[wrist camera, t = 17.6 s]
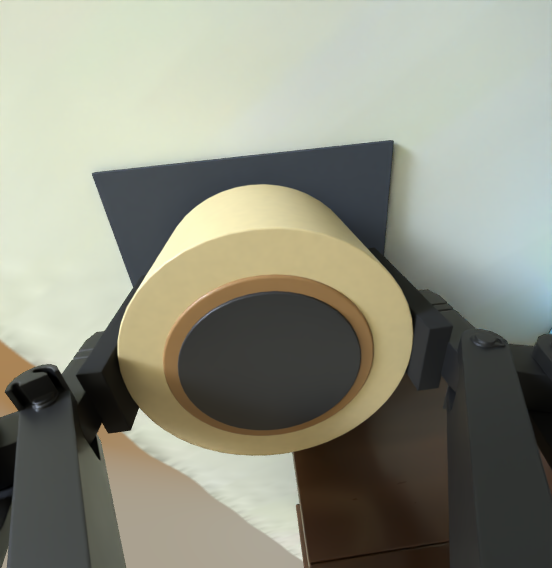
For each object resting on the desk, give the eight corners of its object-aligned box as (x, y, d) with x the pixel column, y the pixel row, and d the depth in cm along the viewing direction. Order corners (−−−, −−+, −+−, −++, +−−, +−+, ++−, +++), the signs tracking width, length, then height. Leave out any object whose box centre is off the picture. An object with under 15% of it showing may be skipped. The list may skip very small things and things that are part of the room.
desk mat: (94, 172, 14) (91, 173, 14) (391, 140, 15) (393, 140, 14) (163, 365, 20) (162, 369, 20) (374, 338, 20) (376, 340, 20)
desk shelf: (278, 356, 20) (341, 790, 7) (467, 331, 21) (852, 696, 8) (296, 510, 30) (337, 817, 17) (425, 491, 30) (563, 775, 17)
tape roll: (188, 367, 18) (163, 475, 13) (134, 197, 13) (56, 253, 8) (354, 346, 18) (400, 442, 13) (362, 172, 13) (440, 209, 8)
